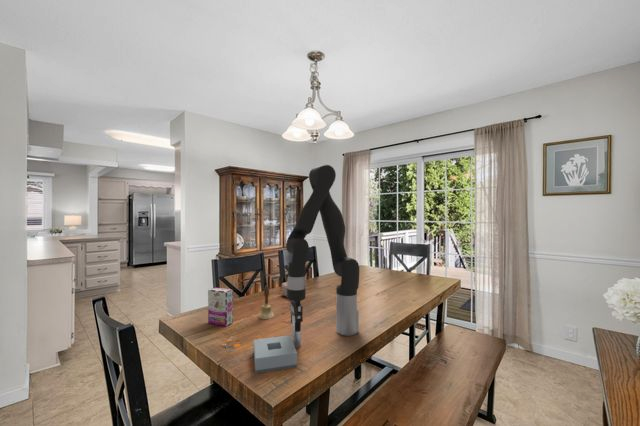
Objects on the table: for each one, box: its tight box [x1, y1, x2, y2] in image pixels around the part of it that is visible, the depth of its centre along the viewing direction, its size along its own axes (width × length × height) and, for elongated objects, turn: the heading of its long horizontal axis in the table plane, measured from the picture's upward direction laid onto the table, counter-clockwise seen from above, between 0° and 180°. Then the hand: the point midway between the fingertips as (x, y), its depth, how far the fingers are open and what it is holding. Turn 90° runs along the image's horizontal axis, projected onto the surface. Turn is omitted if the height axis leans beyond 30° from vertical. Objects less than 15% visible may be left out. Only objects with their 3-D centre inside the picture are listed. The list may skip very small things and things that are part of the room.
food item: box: [281, 281, 287, 298], centre depth 175 cm, size 14×8×10 cm, turn 43°
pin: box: [291, 315, 302, 348], centre depth 112 cm, size 4×4×12 cm
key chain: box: [218, 336, 241, 353], centre depth 113 cm, size 13×7×1 cm, turn 36°
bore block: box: [253, 335, 298, 374], centre depth 101 cm, size 14×14×5 cm
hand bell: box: [257, 285, 276, 320], centre depth 143 cm, size 8×8×16 cm
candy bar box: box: [207, 287, 234, 327], centre depth 134 cm, size 11×5×16 cm, turn 68°
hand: (295, 326), depth 112 cm, fingers open, 8 cm apart
